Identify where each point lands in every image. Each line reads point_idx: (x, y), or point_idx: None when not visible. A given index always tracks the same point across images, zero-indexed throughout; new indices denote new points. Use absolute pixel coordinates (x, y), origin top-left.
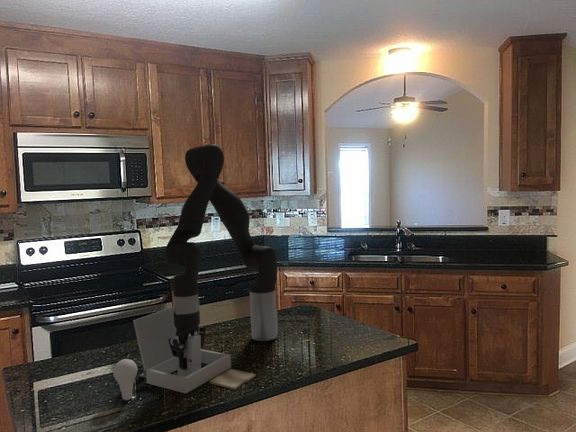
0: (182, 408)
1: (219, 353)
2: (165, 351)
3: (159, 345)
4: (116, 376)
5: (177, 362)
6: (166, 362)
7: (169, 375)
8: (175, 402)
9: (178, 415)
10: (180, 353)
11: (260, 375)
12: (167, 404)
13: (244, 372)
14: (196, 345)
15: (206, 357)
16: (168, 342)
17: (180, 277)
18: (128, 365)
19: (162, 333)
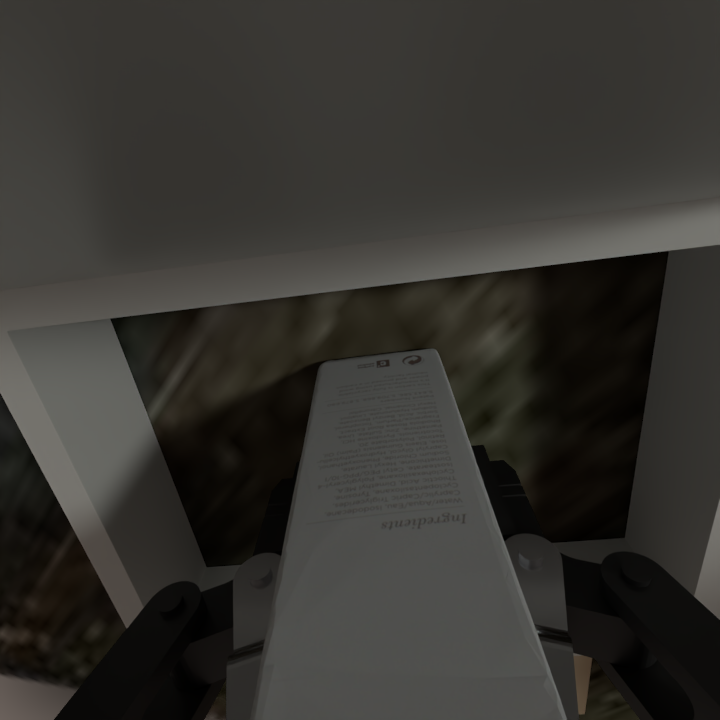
0: (94, 661)
1: (716, 570)
2: (264, 247)
3: (68, 261)
4: None
5: (305, 435)
6: (247, 300)
7: (95, 569)
8: (96, 607)
9: (51, 683)
10: (196, 704)
11: (598, 710)
12: (51, 594)
13: (579, 672)
14: None
15: (688, 401)
16: (371, 221)
17: None
18: None
19: (43, 210)
